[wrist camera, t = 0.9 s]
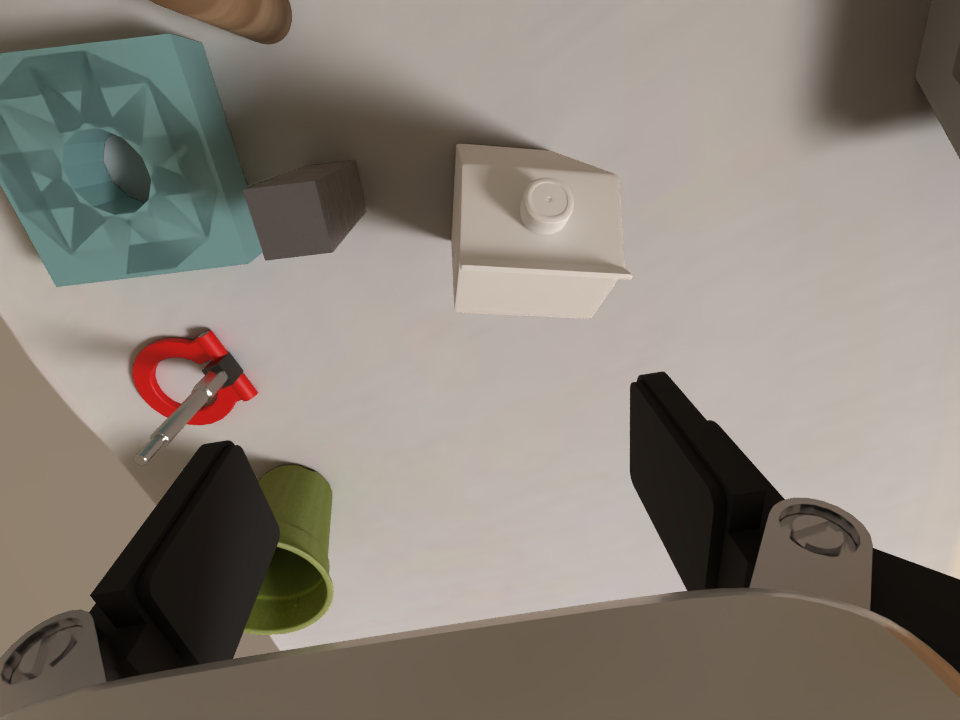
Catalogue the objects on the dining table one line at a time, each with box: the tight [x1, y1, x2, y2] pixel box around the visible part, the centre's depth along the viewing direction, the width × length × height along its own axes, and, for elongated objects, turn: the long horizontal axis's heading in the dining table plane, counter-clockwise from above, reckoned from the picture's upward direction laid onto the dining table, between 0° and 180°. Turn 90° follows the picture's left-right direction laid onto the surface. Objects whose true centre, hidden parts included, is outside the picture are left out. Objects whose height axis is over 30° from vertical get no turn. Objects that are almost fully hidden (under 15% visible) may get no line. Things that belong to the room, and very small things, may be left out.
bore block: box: [0, 34, 263, 287], centre depth 32 cm, size 13×13×4 cm
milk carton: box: [451, 144, 633, 318], centre depth 28 cm, size 7×7×19 cm
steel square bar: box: [243, 160, 366, 260], centre depth 30 cm, size 4×4×12 cm
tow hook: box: [133, 330, 258, 465], centre depth 36 cm, size 8×13×9 cm
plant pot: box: [243, 465, 333, 635], centre depth 43 cm, size 12×12×11 cm
